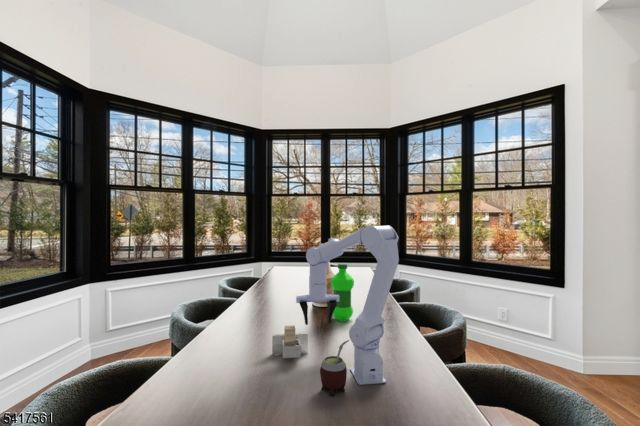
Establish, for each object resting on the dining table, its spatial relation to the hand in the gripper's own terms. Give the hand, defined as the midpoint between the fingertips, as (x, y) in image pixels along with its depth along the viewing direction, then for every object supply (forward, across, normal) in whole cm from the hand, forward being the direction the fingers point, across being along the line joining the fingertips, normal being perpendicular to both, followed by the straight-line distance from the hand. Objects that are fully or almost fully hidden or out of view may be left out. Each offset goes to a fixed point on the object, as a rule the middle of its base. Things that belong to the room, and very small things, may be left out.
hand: (317, 323), depth 107 cm
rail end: (+8, +10, +3) cm, 13 cm away
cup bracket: (+10, +9, +2) cm, 14 cm away
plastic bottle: (+11, -17, -35) cm, 40 cm away
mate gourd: (+11, -1, +23) cm, 25 cm away
